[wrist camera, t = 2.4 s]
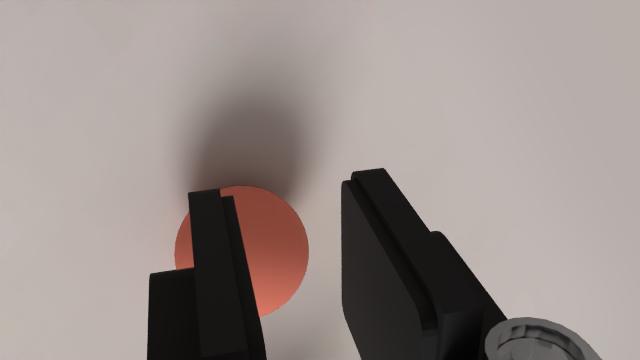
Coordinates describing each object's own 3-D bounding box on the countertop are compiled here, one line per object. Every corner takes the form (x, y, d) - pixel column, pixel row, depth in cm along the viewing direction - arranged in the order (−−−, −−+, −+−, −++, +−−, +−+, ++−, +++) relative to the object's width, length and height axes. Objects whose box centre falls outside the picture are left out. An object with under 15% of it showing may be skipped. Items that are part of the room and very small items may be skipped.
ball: (165, 171, 28) (165, 242, 23) (292, 156, 29) (320, 220, 24) (181, 276, 31) (185, 359, 26) (297, 258, 32) (323, 335, 27)
